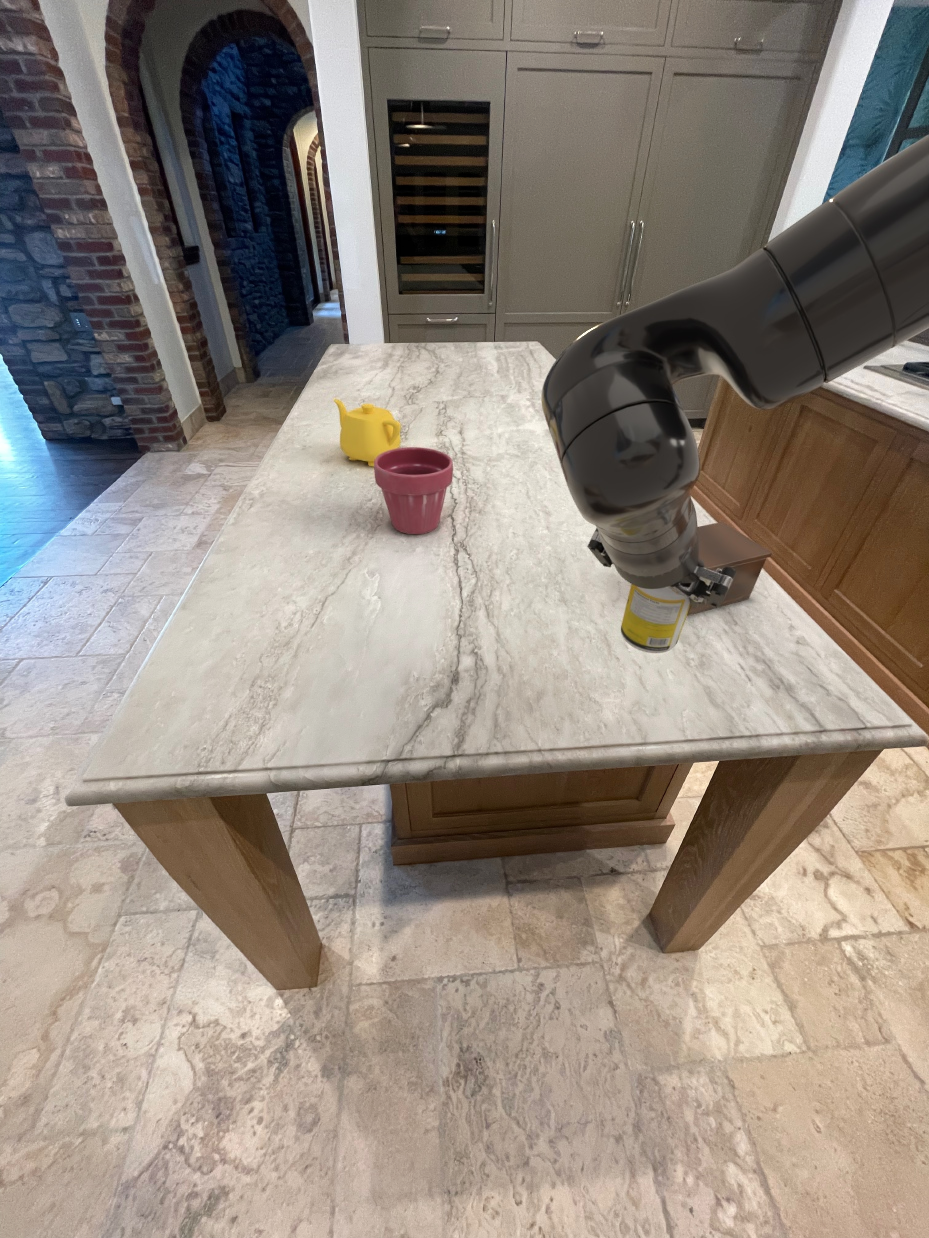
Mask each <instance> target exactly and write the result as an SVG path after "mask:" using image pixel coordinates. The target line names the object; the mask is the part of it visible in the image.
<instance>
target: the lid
mask: <svg viewBox="0 0 929 1238" xmlns="http://www.w3.org/2000/svg"><path fill="white" fill-rule="evenodd" d="M698 536H699V558H700V559H701V560H702V561H703V562H704V564H705V568H706V569H709V570H712V571H714V570H717V569H723V567H731V566H735V565H739V564H743V563H748V562H752V561H756V560H760V559H764V558H766V559H768V558H771V557H772V554H773V552H772V551H771V550H769V549H767V548H765V547H764V546H762V545H761V544H759V543H758V542H756V541H754V540H752V539H751V538H749V537H748V536H746V535H745V534H744V533H742V532H740V531H738V530H737V529H735V528H733V527H732V526H730V525H728V524H727V523H725V522H724V521H719V522H714V523H709V524H705V525H704V524H703V525H698Z"/></svg>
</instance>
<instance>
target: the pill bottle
mask: <svg viewBox="0 0 929 1238" xmlns="http://www.w3.org/2000/svg"><path fill="white" fill-rule="evenodd" d="M679 584H680V583H679ZM690 605H691V604H690V600H689V597H687V596H683V595H678V594H676V593H675V592H674V591H672V590H671V589H670V588H668V587H665V588H660V589H645V588H640V587H637V586H635V585H632V584H631V583H630V589H629V592H628V597H627V599H626V605H625V608H624V612H623V617H622V621H621V625H620V633H621V636H622V638H623V641H625V642H626V643H627V644H628V645H629V646H630V647H632V648H634V649H635V650H638V651H641V652H642V653H643V652H644V653H646V654H647V653H648V654H663V653H666V652H669V651H671V650H673V649H674V648H675V647H676V646H677V645H678V642H679V640H680V636H681V633H682V630H683V628H684V625H685V622H686V619H687V617H688V616H687V614H688V611H689V608H690Z"/></svg>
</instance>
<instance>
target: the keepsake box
mask: <svg viewBox="0 0 929 1238" xmlns="http://www.w3.org/2000/svg"><path fill="white" fill-rule="evenodd" d="M766 561H767V558H764V559H760V560H756V561H752V562H748V563H743V564H739V565H735V566H731V568H733V569H734V570H736V571H737V573H736V575H735V577H734V580H733V582H732V584H731V586H730V588H729V590H728V592H727V594H726V596H725V598H724V600H723V602H722V604H721V606H720V607H719V608H721V607H724V606H728V605H732V604H736V603H739V602H742V601H746V600H749V599H750V597H751V595H752V593H753V590H754V589H755V586H756V583H757V581H758V579H759V577H760V574H761V573H762V569H763V567H764V565H765V563H766ZM721 570H722V569H721ZM714 572H716V570H714ZM717 608H718V607H713V606H711V605H710V604H709V603H708V600H707V602H706V604H705V605H704V606H702V605H700V604H699V606H698V607H697V608H696V607H694V606H691V605H690V608H689V611H688V614H687V617H689V616H692V615H695V614H698V613H702V612H706V611H709V610H713V609H717Z"/></svg>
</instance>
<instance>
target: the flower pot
mask: <svg viewBox="0 0 929 1238" xmlns="http://www.w3.org/2000/svg"><path fill="white" fill-rule="evenodd" d="M373 471H374V480H375V484H376V485H377V487H379V488H380V489H381V492H382V497H383V498H384V499H383V500H384V502H385V505H386V508H387V511H388V515H389V519H390V522H391V524H392V527H393V528H394V529H395V530H396V531H398V532H400V533H403V534H407V535H423V534H428V533H430V532H433V531H434V530H436V529H437V528H438V526H439V523H440V519H441V516H442V513H443V512H442V511H443V507H444V504H445V499H446V495H447V488H449V486H450V485H451V484H452V482H453V478H454V477H453V474H454V464H453V459H452V457H451V456H450V455H449V454H447V453H445V452H443V451H440V450H437V449H434V448H428V447H422V446H421V447H418V446H408V447H407V446H406V447H399V448H397V449H392V450H389V451H386V452H384V453H382V454H380V455H378V456H377V457H376V458H375V460H374V466H373Z"/></svg>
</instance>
